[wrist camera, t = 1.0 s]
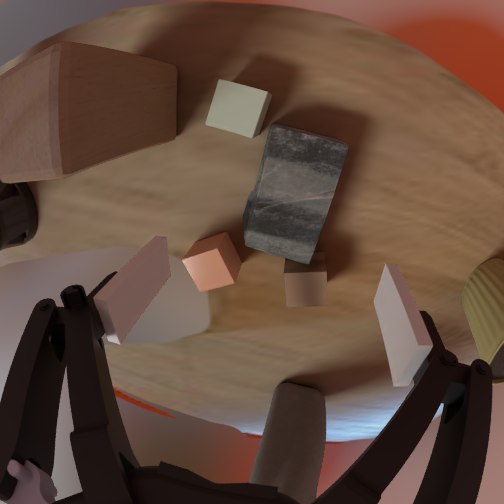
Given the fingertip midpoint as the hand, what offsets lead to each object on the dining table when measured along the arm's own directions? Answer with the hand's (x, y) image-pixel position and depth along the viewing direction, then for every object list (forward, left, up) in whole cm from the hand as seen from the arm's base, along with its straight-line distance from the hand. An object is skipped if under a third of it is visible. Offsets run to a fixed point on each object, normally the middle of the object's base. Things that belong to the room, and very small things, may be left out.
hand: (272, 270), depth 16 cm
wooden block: (-18, +10, -19) cm, 28 cm away
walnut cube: (+4, -11, -19) cm, 22 cm away
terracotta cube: (-8, -10, -19) cm, 23 cm away
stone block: (0, 0, -20) cm, 20 cm away
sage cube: (-5, +9, -19) cm, 22 cm away
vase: (+7, -40, -19) cm, 45 cm away
